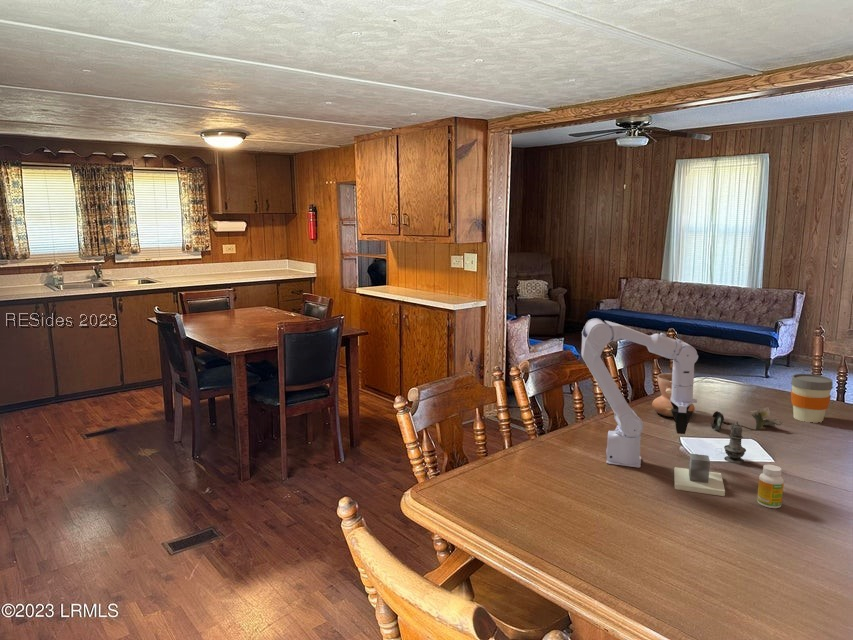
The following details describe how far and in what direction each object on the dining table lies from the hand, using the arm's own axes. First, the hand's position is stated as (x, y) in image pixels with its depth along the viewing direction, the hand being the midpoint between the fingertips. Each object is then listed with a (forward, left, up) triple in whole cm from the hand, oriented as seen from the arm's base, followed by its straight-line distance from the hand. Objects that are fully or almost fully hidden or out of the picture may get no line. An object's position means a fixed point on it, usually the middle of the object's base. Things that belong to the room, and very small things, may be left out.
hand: (680, 429), depth 176 cm
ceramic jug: (0, +48, -11) cm, 49 cm away
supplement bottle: (+21, -20, -11) cm, 31 cm away
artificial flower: (+22, +40, -11) cm, 47 cm away
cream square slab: (+5, -13, -11) cm, 18 cm away
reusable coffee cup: (+45, +58, -11) cm, 74 cm away
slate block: (+5, -13, -9) cm, 17 cm away
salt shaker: (+16, +8, -11) cm, 20 cm away
